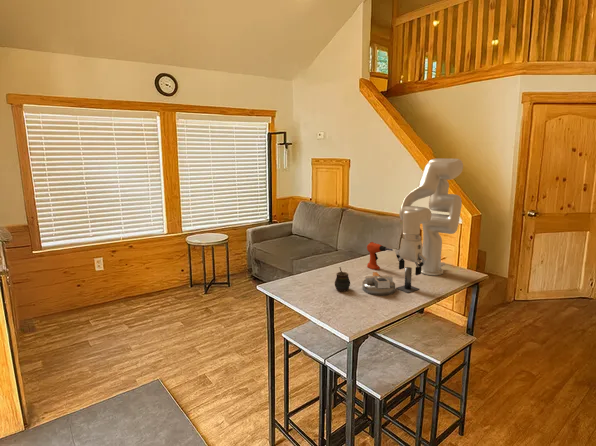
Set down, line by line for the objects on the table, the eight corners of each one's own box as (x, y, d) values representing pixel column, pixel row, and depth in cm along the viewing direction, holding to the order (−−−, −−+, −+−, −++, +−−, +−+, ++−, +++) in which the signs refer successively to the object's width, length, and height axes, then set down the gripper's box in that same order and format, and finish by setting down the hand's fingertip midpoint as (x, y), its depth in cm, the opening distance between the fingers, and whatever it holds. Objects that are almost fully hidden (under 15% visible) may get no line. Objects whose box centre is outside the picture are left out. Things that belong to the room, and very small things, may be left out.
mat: (407, 285, 181) (407, 284, 181) (419, 289, 176) (419, 288, 176) (396, 288, 177) (396, 287, 177) (407, 293, 171) (407, 292, 171)
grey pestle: (408, 286, 178) (409, 266, 176) (412, 288, 175) (413, 268, 173) (403, 287, 177) (403, 267, 175) (406, 289, 174) (407, 269, 172)
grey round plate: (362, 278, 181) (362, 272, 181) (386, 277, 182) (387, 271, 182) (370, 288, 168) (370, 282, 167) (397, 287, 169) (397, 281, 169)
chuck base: (378, 281, 186) (378, 275, 186) (401, 290, 174) (402, 284, 173) (355, 288, 178) (355, 282, 178) (378, 298, 166) (379, 291, 165)
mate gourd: (338, 293, 172) (339, 272, 170) (331, 288, 179) (331, 268, 177) (352, 291, 174) (352, 270, 172) (345, 285, 181) (345, 266, 179)
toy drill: (390, 273, 194) (388, 244, 192) (365, 268, 209) (363, 242, 208) (397, 271, 196) (395, 243, 195) (371, 266, 212) (370, 240, 211)
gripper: (432, 238, 167) (430, 275, 171) (401, 231, 181) (400, 265, 185) (421, 242, 163) (419, 279, 167) (391, 234, 177) (390, 268, 181)
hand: (409, 271), depth 176 cm, fingers open, 9 cm apart
